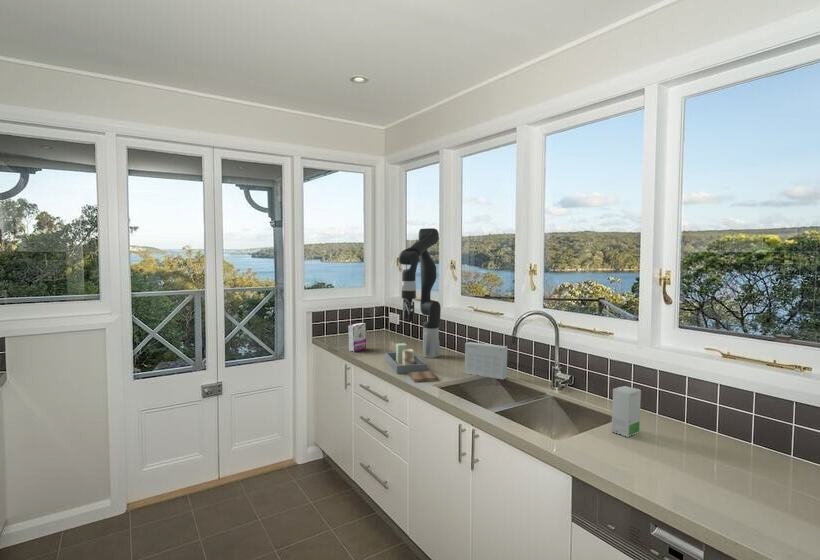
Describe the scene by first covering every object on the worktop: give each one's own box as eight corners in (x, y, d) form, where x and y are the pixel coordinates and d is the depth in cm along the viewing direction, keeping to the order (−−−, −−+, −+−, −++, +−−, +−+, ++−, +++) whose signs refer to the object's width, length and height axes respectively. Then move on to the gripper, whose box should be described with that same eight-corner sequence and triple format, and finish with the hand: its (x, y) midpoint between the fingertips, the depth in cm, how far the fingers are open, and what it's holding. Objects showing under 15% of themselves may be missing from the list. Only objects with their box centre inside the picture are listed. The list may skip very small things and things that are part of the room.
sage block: (404, 360, 260) (404, 343, 260) (406, 362, 255) (406, 345, 255) (396, 361, 259) (396, 343, 258) (398, 363, 254) (398, 345, 253)
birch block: (411, 367, 246) (411, 348, 245) (414, 369, 241) (414, 351, 240) (402, 367, 245) (402, 349, 244) (404, 370, 240) (404, 351, 239)
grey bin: (411, 358, 266) (411, 351, 266) (426, 371, 237) (426, 364, 237) (384, 359, 262) (384, 352, 262) (396, 373, 233) (396, 366, 233)
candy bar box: (360, 348, 291) (360, 322, 290) (366, 349, 288) (366, 323, 287) (348, 351, 282) (348, 324, 281) (353, 352, 279) (353, 325, 278)
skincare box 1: (507, 377, 228) (508, 346, 227) (503, 380, 224) (504, 348, 223) (468, 371, 239) (468, 341, 238) (463, 373, 234) (464, 343, 233)
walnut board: (430, 373, 233) (431, 370, 233) (438, 380, 222) (438, 377, 222) (408, 375, 230) (408, 372, 230) (414, 382, 219) (414, 379, 219)
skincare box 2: (627, 438, 156) (629, 393, 155) (609, 431, 162) (611, 388, 161) (640, 432, 161) (642, 389, 160) (622, 426, 167) (624, 384, 166)
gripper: (419, 290, 234) (419, 322, 235) (412, 288, 247) (411, 317, 249) (405, 290, 232) (404, 322, 233) (398, 288, 246) (398, 318, 247)
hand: (408, 320), depth 241 cm, fingers open, 8 cm apart
